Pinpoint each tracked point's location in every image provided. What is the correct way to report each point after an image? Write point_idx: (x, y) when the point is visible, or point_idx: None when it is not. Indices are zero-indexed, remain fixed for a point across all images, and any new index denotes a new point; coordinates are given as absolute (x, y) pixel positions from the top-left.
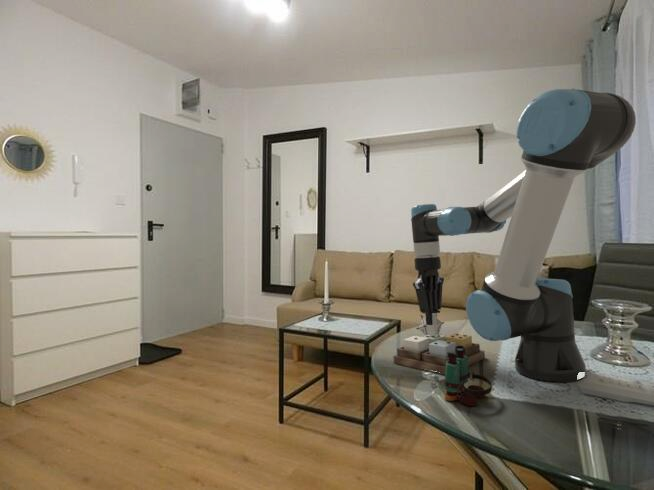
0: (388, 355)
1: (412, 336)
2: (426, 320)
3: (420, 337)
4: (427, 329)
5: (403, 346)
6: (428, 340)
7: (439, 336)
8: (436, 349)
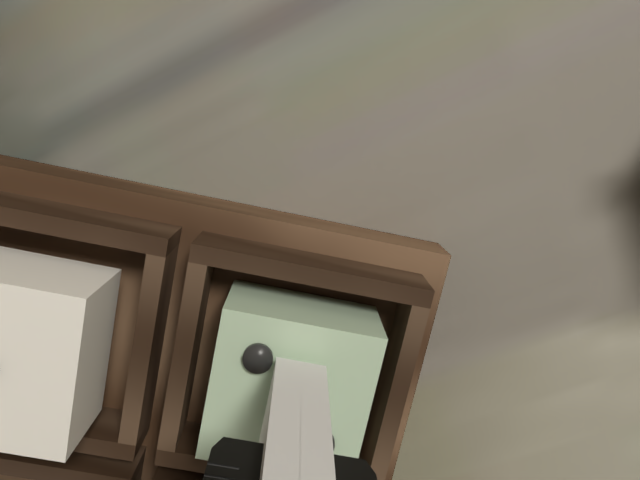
0: (107, 8)
1: (55, 296)
2: (205, 476)
3: (54, 386)
4: (272, 388)
5: (1, 211)
6: (72, 449)
7: None
8: None
